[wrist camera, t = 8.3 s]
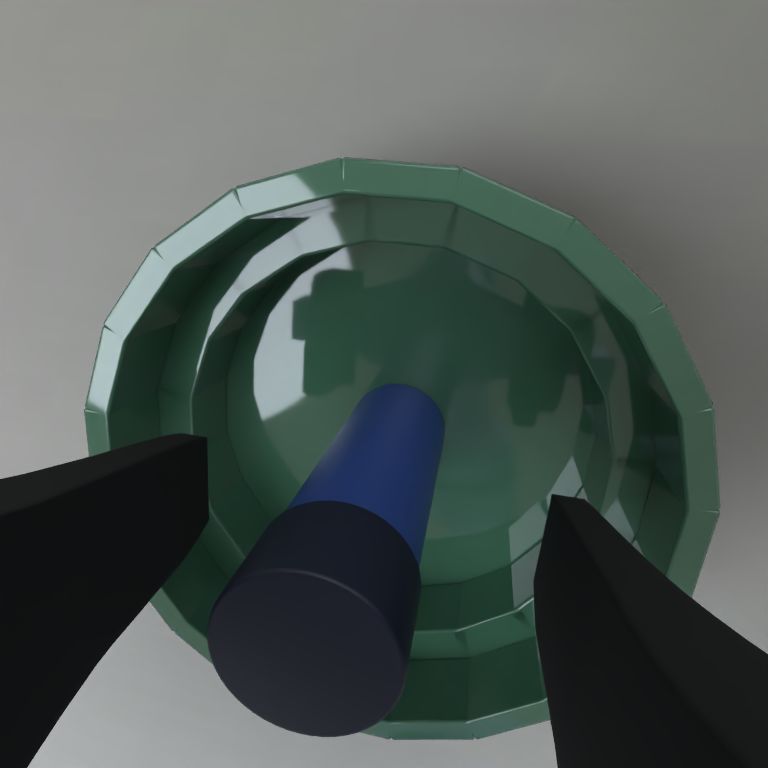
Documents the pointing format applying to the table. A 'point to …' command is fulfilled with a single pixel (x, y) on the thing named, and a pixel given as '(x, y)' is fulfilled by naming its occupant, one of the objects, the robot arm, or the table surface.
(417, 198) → the bowl
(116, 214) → the table surface
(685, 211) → the table surface
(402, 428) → the marker
